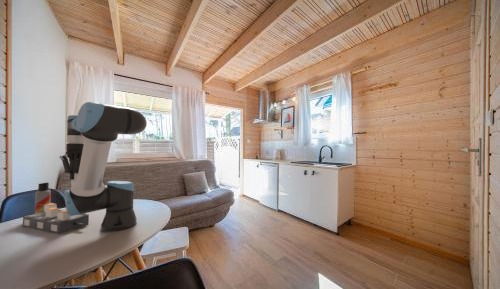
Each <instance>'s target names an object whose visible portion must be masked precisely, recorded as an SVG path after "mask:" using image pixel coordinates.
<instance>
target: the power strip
mask: <svg viewBox="0 0 500 289" xmlns="http://www.w3.org/2000/svg"><path fill="white" fill-rule="evenodd" d="M59 211H63V210H62V209H59ZM89 218H90V215H89V214H88V213H84V214H80V215H73V216H71V219H67V220H64V221H61V220H57V216H56V217H52V218H49V217H46V212H41V213H37V214H35V213H33V214H29V215H25V216H23V217H22V228H26V229H31V230H37V231H41V232H46V233H51V234H56V235H61V234H62V235H63V234H65V233H67V232H70V231H73V230H75V229H78V228H81V227H82V228H83V227H85V226H87V225H89V220H90V219H89Z"/></svg>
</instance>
